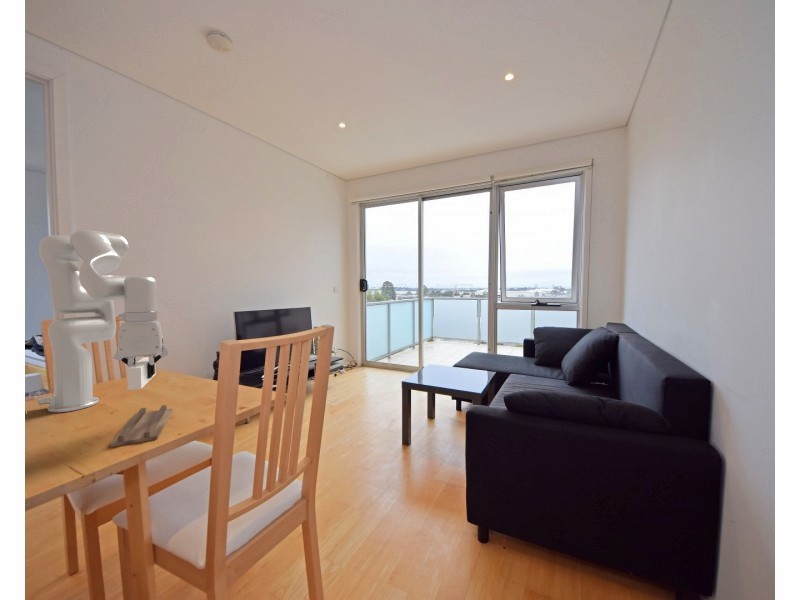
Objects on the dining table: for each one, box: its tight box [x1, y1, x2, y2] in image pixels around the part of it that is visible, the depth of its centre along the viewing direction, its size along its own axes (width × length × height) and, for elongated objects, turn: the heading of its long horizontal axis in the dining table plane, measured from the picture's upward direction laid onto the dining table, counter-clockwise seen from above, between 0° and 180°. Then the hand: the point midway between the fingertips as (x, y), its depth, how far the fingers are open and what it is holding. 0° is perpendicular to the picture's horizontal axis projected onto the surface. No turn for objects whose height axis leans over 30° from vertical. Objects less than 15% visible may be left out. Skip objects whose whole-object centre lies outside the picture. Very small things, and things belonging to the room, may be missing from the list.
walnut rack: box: [109, 404, 173, 448], centre depth 95 cm, size 10×22×2 cm, turn 27°
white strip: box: [126, 356, 157, 391], centre depth 94 cm, size 3×16×6 cm, turn 27°
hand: (142, 377), depth 94 cm, fingers closed on white strip, 3 cm apart
